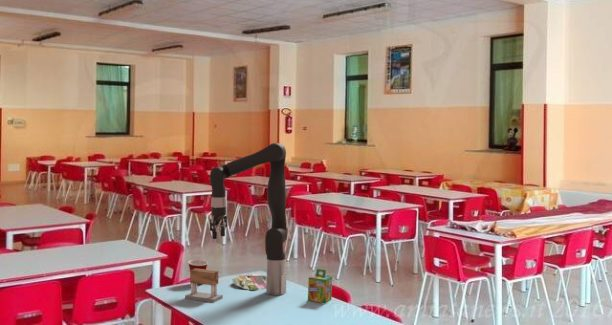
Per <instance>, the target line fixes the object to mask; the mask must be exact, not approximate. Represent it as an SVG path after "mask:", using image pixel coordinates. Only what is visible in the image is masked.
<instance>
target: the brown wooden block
mask: <svg viewBox="0 0 612 325" xmlns="http://www.w3.org/2000/svg"><path fill="white" fill-rule="evenodd" d="M189 282H190V283H197V284H202V285H206V286H207V285H208V286H211V285H213V286H214V285H216V284H217V285H219V270H213V269H206V270H205V269H196V268H195V269H192V270H190V269H189Z"/></svg>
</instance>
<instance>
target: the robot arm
mask: <svg viewBox="0 0 612 325" xmlns="http://www.w3.org/2000/svg"><path fill="white" fill-rule="evenodd" d="M286 154H287V151H286V147H285V145H283V144H282V143H280V142H273V143H270V144H269V145H267V146H265V147H264V148H262V149H261V150H258V151H256V152H254V153H252V154H249V155H246V156H243V157H240V158H237V159H234V160H232V161H229V162H228V163H226V164H223V165H220V166H215V167H213V168H212V169H211V170H210V173H209V174H210V175H209V180H210V185H211V200H210V202H211V203H210V205H211V206H210V207H211V209H210V210H211V211H210V213H211V216H213V218H210V219H209V231H211V232H212V237H211V238H212V240H217V239H218V229H219V228H220V237H225V236H226V228H227V227H228V216H227V199H226V197H227V194H226V191H227V189H226V186H225V185H224V183H225V182H224V180H226V179H228V178H231V177H232V176H235V175H239V174H241V173H243V172H246V171H249V170H251V169H253V168H255V167H257V166H260V165H263V164H266V163H269V166H270V170H269V171H270V172H269V176H268V182H267V192H266V194H267V197H266V199H267V204H268V207H269V211H270V214H271V227H270V228H269V229H268V230H267V231H266V233H265V236H264V238H265V240H264V244H265V245H264V246H265V255H266V276H267V279H266V288H265V289H266V291H265V292H266V294H267V295H273V296H275V295H276V296H278V295H279V296H280V295H281V296H282V295H284V294H285V293H287V273H286V254H285V252H284V246H283V245H284V243H285V242H286V240H287V239H288V238H287V237H288V228H287V220H286V219H287V218H286V209H287V207H286V206H287V205H286V202H287V201H286V200H287V197H286V196H287V192H286V190H287V188H286V175H285V174H286V173H285V172H286V171H285V168H286V166H285V165H286Z"/></svg>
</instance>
